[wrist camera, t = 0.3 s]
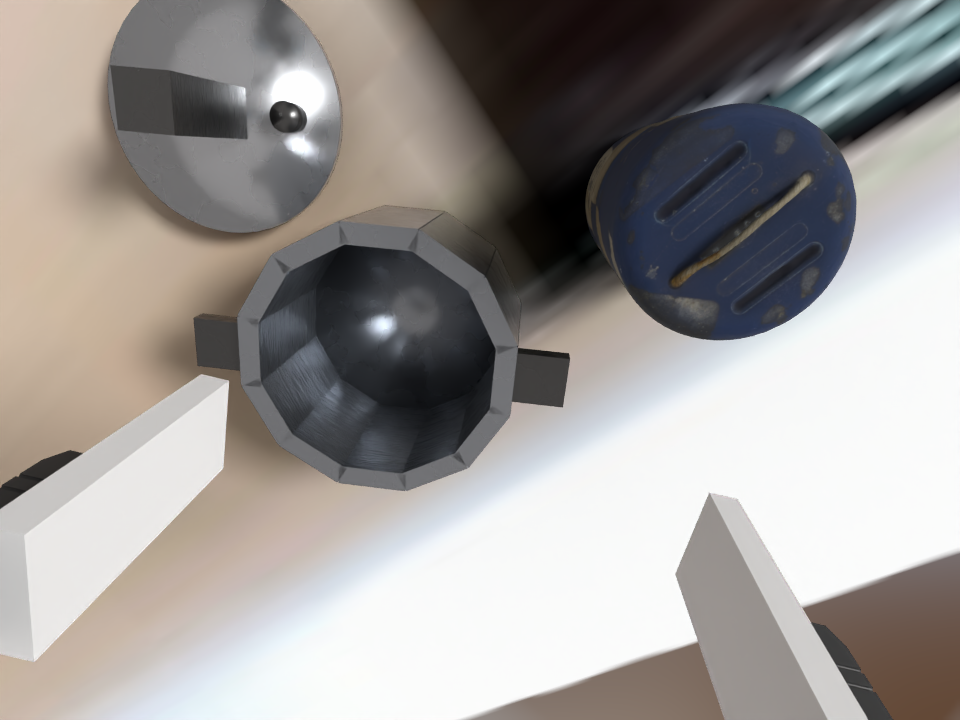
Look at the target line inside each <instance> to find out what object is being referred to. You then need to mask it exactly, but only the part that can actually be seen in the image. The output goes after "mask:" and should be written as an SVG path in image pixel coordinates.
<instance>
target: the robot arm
mask: <svg viewBox="0 0 960 720" xmlns="http://www.w3.org/2000/svg"><path fill="white" fill-rule="evenodd" d="M228 390H229V381H228V380H224V379H220V378H216V377H211V376H207V375H203V374H201V375H199V376H198V377H196V378H195V379H193V380H192V381H190V382H189V383H187V384H186V385H184V386H183V387H181V388H180V389H178V390H177V391H175V392H174V393H172V394H171V395H169V396H168V397H166V398H165V399H163V400H162V401H161V402H159V403H158V404H156V405H155V406H153V407H152V408H150V409H149V410H147V411H146V412H144V413H143V414H141V415H140V416H138V417H137V418H135V419H134V420H132V421H131V422H129V423H128V424H126V425H125V426H123V427H122V428H120V429H119V430H117V431H116V432H114V433H113V434H111V435H110V436H108V437H107V438H105V439H104V440H102V441H101V442H99V443H98V444H96V445H95V446H93V447H92V448H90V449H89V450H88V451H86V452H85V453H79V452H75V451H71V450H69V451H66V452H64V453H61V454H58V455H55V456H52V457H49V458H46V459H43V460H41V461H39V462H38V463H36V464H35V465H33V466H32V467H30V468H28V469H27V470H25V471H24V472H22V473H20V476H19V477H14V478H12V479H11V480H9V481H8V482H6V483H4V484H3V485H2V487H1V488H0V654H2V655H6V656H11V657H15V658H19V659H23V660H27V661H32V662H35V661H36V660H37V659H38V658H39V657H40V656H41V655H42V654H43V653H44V652H45V651H46V650H47V649H48V647H49V646H50V645H51V644H52V643H53V642H54V641H55V640H56V639H57V638H58V637H59V636H60V635H61V634H62V633H63V632H64V631H65V630H66V629H67V628H68V627H69V626H70V625H71V624H72V623H73V622H74V621H75V620H76V619H77V618H78V617H79V616H80V615H81V614H82V613H83V612H84V611H85V610H86V609H87V608H88V607H89V605H90V604H91V603H92V602H93V601H94V600H95V599H96V598H97V597H98V596H99V595H100V594H101V593H102V592H103V591H104V590H105V589H106V588H107V587H108V586H109V585H110V584H111V583H112V582H113V581H114V580H115V579H116V578H117V577H118V576H119V575H120V574H121V573H122V572H123V571H124V570H125V569H126V568H127V567H128V566H129V564H130V563H131V562H132V561H133V560H134V559H135V558H136V557H137V556H138V555H139V554H140V553H141V552H142V551H143V550H144V549H145V548H146V547H147V546H148V545H149V544H150V543H151V542H152V541H153V540H154V539H155V538H156V537H157V536H158V535H159V534H160V533H161V532H162V531H163V530H164V529H165V528H166V527H167V526H168V525H169V524H170V522H171V521H172V520H173V519H174V518H175V517H176V516H177V515H178V514H179V513H180V512H181V511H182V510H183V509H184V508H185V507H186V506H187V505H188V504H189V503H190V502H191V501H192V500H193V499H194V498H195V497H196V496H197V495H198V494H199V493H200V492H201V491H202V490H203V489H204V488H205V487H206V486H207V485H208V484H209V483H210V481H211V480H212V479H213V478H214V477H215V476H216V475H217V474H218V473H219V472H220V471H221V470H222V469H223V466H224V451H225V435H226V420H227V405H228ZM675 575H676V577H677V580H678V583H679V586H680V589H681V592H682V595H683V598H684V601H685V604H686V607H687V610H688V613H689V616H690V619H691V622H692V625H693V628H694V630H695V633H696V636H697V639H698V642H699V645H700V648H701V651H702V654H703V657H704V660H705V663H706V666H707V669H708V671H709V674H710V677H711V680H712V683H713V686H714V689H715V692H716V695H717V698H718V701H719V704H720V707H721V710H722V713H723V716H724V719H725V720H893V719H892V718H891V716H890V714H889V713H888V711H887V709H886V708H885V706H884V705H883V703H882V702H881V700H880V698H879V697H878V696H877V694H876V693H875V692H873V691H872V688H873V687H872V686H871V684H870V683H869V681H868V680H867V678H866V676H865V675H864V674H862V673H861V669H860V667H859V666H858V664H857V663H856V661H855V659H854V658H853V656H852V655H851V653H850V651H849V650H848V648H847V647H846V646H845V645H844V644H843V643H842V642H841V641H840V640H839V639H838V638H837V637H836V636H835V635H834V634H833V633H832V632H831V631H830V630H829V629H828V628H827V627H826V626H824V625H820V624H816V623H811V622H810V621H809V619H808V617H807V616H806V614H805V612H804V611H803V609H802V607H801V605H800V604H799V602H798V600H797V599H796V597H795V595H794V594H793V592H792V590H791V589H790V587H789V585H788V583H787V582H786V580H785V578H784V577H783V575H782V573H781V572H780V570H779V568H778V567H777V565H776V563H775V562H774V560H773V558H772V556H771V555H770V553H769V551H768V550H767V548H766V546H765V545H764V543H763V541H762V540H761V538H760V536H759V535H758V533H757V531H756V529H755V528H754V526H753V524H752V523H751V521H750V519H749V518H748V516H747V514H746V513H745V511H744V509H743V508H742V506H741V504H740V502H739V501H738V499H734V498H730V497H726V496H722V495H717V494H713V493H709V495H708V497H707V500H706V502H705V504H704V507H703V509H702V512H701V514H700V516H699V519H698V521H697V524H696V526H695V528H694V531H693V533H692V536H691V538H690V540H689V543H688V545H687V548H686V550H685V552H684V555H683V557H682V560H681V562H680V564H679V567H678V569H677V572H676V574H675Z"/></svg>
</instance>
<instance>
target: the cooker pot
mask: <svg viewBox="0 0 960 720" xmlns="http://www.w3.org/2000/svg"><path fill="white" fill-rule="evenodd" d="M520 312H521V302H520V299H519V297H518V295H517V293H516V290H515V288H514V286H513V284H512V282H511V279H510V277H509V275H508V273H507V270H506V268H505V266H504V264H503V262H502V259H501V257H500V255H499V253H498V251H497V249H496V247H494V246H493V245H492V244H490V243H489V242H487V241H486V240H485V239H483V238H482V237H480V236H479V235H478V234H476V233H475V232H474V231H472V230H471V229H469V228H468V227H467V226H465V225H464V224H462V223H461V222H460V221H458V220H457V219H456V218H454V217H453V216H451V215H450V214H449V213H447V212H445V211H437V210H427V209H417V208H407V207H397V206H386V205H384V206H381V207H378V208H375V209H372V210H369V211H366V212H363V213H361V214H358V215H355V216H352V217H349V218H346V219H343V220H340V221H338V222H336V223H334V224H332V225H330V226H328V227H326V228H324V229H321V230H319V231H317V232H315V233H313V234H311V235H309V236H307V237H305V238H303V239H301V240H299V241H297V242H295V243H293V244H291V245H289V246H287V247H285V248H283V249H281V250H279V251H277V252H275V253H273V254H272V255H271V256H270V258H269V260H268V262H267V263H266V265H265V267H264V269H263V271H262V272H261V274H260V276H259V278H258V280H257V281H256V283H255V285H254V287H253V288H252V290H251V292H250V294H249V296H248V297H247V299H246V301H245V303H244V305H243V306H242V308H241V310H240V312H239V313H238V317H230V316H220V315H211V314H201V315H199V316H197V317H195V318H194V328H195V340H196V352H197V363H198V366H203V367H212V368H221V369H230V370H239V371H240V373H241V385H243V386H242V388H243V389H244V391H245V392H246V394H247V396H248V397H249V399H250V400H251V402H252V404H253V405H254V407H255V408H256V410H257V412H258V413H259V415H260V416H261V418H262V420H263V421H264V423H265V424H266V426H267V428H268V429H269V431H270V433H271V434H272V436H273V437H274V439H275V441H276V442H277V444H278V445H279V444H280V445H279V446H280V447H282V448H283V449H285V450H287V451H288V452H290V453H291V454H293V455H295V456H296V457H298V458H299V459H301V460H302V461H304V462H306V463H307V464H309V465H310V466H312V467H314V468H315V469H317V470H318V471H320V472H321V473H323V474H325V475H326V476H328V477H329V478H331V479H333V480H334V481H336V482H338V481H339V483H343V484H351V485H359V486H367V487H375V488H384V489H392V490H400V491H405V490H406V491H408V490H411V489H413V488H416V487H419V486H421V485H424V484H427V483H429V482H432V481H435V480H438V479H440V478H443V477H446V476H448V475H451V474H454V473H456V472H459V471H462V470H464V469H467V468H469V467H470V465H471V464H472V463H473V462H474V460H475V459H476V458H477V457H478V455H479V454H480V453H481V452H482V451H483V449H484V448H485V447H486V446H487V444H488V443H489V442H490V441H491V439H492V438H493V437H494V436H495V434H496V433H497V432H498V431H499V430H500V428H501V427H502V426H503V425H504V423H505V422H506V421H507V420H508V418H509V417H510V413H511V404H512V402H520V403H529V404H538V405H547V406H555V407H563V403H564V396H565V389H566V382H567V376H568V369H569V362H570V357H569V353H560V352H551V351H541V350H532V349H523V348H518V341H519V326H520Z"/></svg>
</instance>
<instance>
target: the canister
mask: <svg viewBox="0 0 960 720" xmlns="http://www.w3.org/2000/svg"><path fill="white" fill-rule="evenodd" d="M585 208H586V218H587V223H588V227H589V230H590V232H591V235H592V237H593V239H594V241H595V242H596V244H597V246H598V247H599V249H600V250H601V251H602V253H603V255H604V257H605V259H606V260H607V262H608V263H609V265H610V266H611V268H612V269H613V270H614V271H615V273H616V274H617V276H618V277H619V279H620V280H621V282H622V283H623V285H624V287H625V288H626V289H627V291H628V292H629V294H630V295H631V296H632V298H633V299H634V300H635V302H636V303H637V304H638V305H639V306H640V307H641V308H642V309H643V310H644V311H645V312H646V313H647V314H648V315H649V316H650V317H652V318H653V319H654V320H655V321H657V322H658V323H660V324H662V325H663V326H665V327H667V328H669V329H671V330H673V331H675V332H678V333H680V334H683V335H687V336H690V337H694V338H699V339H707V340H733V339H741V338H746V337H750V336H754V335H757V334H760V333H764V332H766V331H769V330H771V329H773V328H775V327H777V326H779V325H781V324H783V323H785V322H787V321H789V320H790V319H792V318H793V317H795V316H796V315H798V314H799V313H801V312H802V311H803V310H805V309H806V308H807V307H808V306H810V305H811V304H812V303H813V302H814V301H815V300H816V299H817V298H818V297H819V296H820V295H821V294H822V293H823V291H824V290H825V289H826V288H827V286H828V285H829V284H830V282H831V281H832V279H833V278H834V276H835V275H836V273H837V272H838V270H839V268H840V267H841V265H842V263H843V261H844V259H845V256H846V254H847V252H848V249H849V247H850V243H851V240H852V236H853V232H854V226H855V220H856V193H855V189H854V184H853V180H852V176H851V173H850V170H849V168H848V165H847V163H846V161H845V159H844V157H843V155H842V154H841V152H840V151H839V149H838V148H837V146H836V145H835V144H834V142H833V141H832V140H831V139H830V138H829V137H828V136H827V135H826V134H825V133H824V132H823V131H822V130H821V129H820V128H818V127H817V126H816V125H814V124H813V123H811V122H810V121H809V120H807V119H806V118H804V117H802V116H800V115H798V114H795V113H793V112H791V111H789V110H786V109H783V108H778V107H774V106H768V105H762V104H749V103H741V104H729V105H723V106H717V107H713V108H708V109H704V110H701V111H698V112H694V113H690V114H686V115H681V116H676V117H672V118H669V119H666V120H664V121H661V122H658V123H655V124H651V125H647V126H644V127H641V128H639V129H636V130H634V131H632V132H630V133H628V134H627V135H625V136H624V137H622V138H621V139H619V140H618V141H617V142H616V143H614V144H613V145H612V146H611V147H610V148H609V149H608V150H607V151H606V152H605V154H604V155H603V156H602V157H601V159H600V160H599V162H598V163H597V165H596V167H595V168H594V170H593V173H592V175H591V177H590V180H589V183H588V187H587V192H586V201H585Z"/></svg>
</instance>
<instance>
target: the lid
mask: <svg viewBox="0 0 960 720" xmlns="http://www.w3.org/2000/svg"><path fill="white" fill-rule="evenodd" d="M108 97H109V105H110V111H111V117H112V121H113V124H114V127H115V131H116V134H117V137H118V139H119V142H120V144H121V146H122V149H123V151H124V153H125V155H126V156H127V158H128V160H129V162H130V164H131V166H132V167H133V168H134V170H135V171H136V173H137V174H138V176H139V177H140V179H141V180H142V181H143V182H144V183H145V185H146V186H147V187H148V188H149V189H150V190H151V191H152V192H153V193H154V194H155V195H156V196H157V197H158V198H159V199H160V200H161V201H162V202H163V203H165V204H166V205H167V206H169V207H170V208H171V209H172V210H174V211H175V212H177V213H178V214H180V215H182V216H183V217H185V218H187V219H189V220H191V221H193V222H195V223H198V224H200V225H202V226H205V227H208V228H212V229H215V230H220V231H226V232H237V233H247V232H256V231H261V230H265V229H269V228H273V227H276V226H279V225H281V224H283V223H286V222H288V221H290V220H291V219H293V218H295V217H296V216H298V215H300V214H301V213H302V212H303V211H304V210H306V209H307V208H308V207H309V206H310V205H311V204H312V203H313V202H314V201H315V200H316V199H317V197H318V196H319V195H320V194H321V192H322V191H323V189H324V188H325V186H326V185H327V183H328V181H329V179H330V177H331V175H332V173H333V171H334V168H335V165H336V162H337V159H338V156H339V152H340V146H341V141H342V130H343V115H342V103H341V97H340V92H339V87H338V84H337V80H336V77H335V73H334V71H333V68H332V66H331V63H330V61H329V59H328V56H327V54H326V53H325V51H324V49H323V47H322V45H321V44H320V42H319V40H318V39H317V37H316V36H315V35H314V33H313V32H312V30H311V29H310V28H309V26H308V25H307V24H306V23H305V22H304V21H303V20H302V18H301V17H300V16H299V15H298V14H297V13H296V12H295V11H294V10H293V9H291V8H290V7H289V6H288V5H287V4H286V3H284V2H283V1H282V0H140V1H139V2H138V3H137V4H136V5H135V6H134V7H133V8H132V10H131V11H130V13H129V14H128V16H127V17H126V19H125V20H124V22H123V24H122V26H121V28H120V30H119V32H118V34H117V36H116V39H115V42H114V45H113V48H112V52H111V57H110V63H109V69H108Z"/></svg>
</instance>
